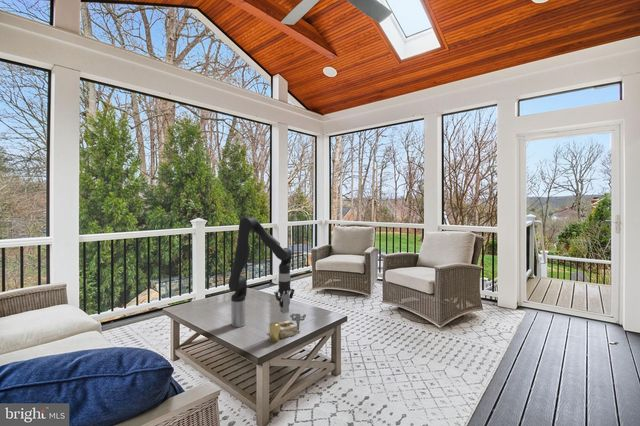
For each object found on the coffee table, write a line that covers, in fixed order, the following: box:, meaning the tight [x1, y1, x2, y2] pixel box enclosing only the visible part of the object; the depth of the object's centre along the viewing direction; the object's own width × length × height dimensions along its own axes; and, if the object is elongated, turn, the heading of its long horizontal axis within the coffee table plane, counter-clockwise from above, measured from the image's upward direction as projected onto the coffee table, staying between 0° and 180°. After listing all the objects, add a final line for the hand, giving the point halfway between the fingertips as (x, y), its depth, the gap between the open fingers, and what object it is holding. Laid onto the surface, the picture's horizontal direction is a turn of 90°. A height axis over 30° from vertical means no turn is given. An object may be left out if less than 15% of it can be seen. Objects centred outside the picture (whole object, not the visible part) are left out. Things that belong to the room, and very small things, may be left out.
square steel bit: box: [279, 293, 290, 314], centre depth 202 cm, size 4×4×12 cm
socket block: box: [278, 319, 298, 340], centre depth 203 cm, size 12×12×5 cm
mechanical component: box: [289, 313, 307, 331], centre depth 209 cm, size 3×10×10 cm, turn 94°
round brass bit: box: [269, 321, 281, 343], centre depth 193 cm, size 6×6×10 cm
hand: (284, 306), depth 203 cm, fingers closed on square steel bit, 4 cm apart
